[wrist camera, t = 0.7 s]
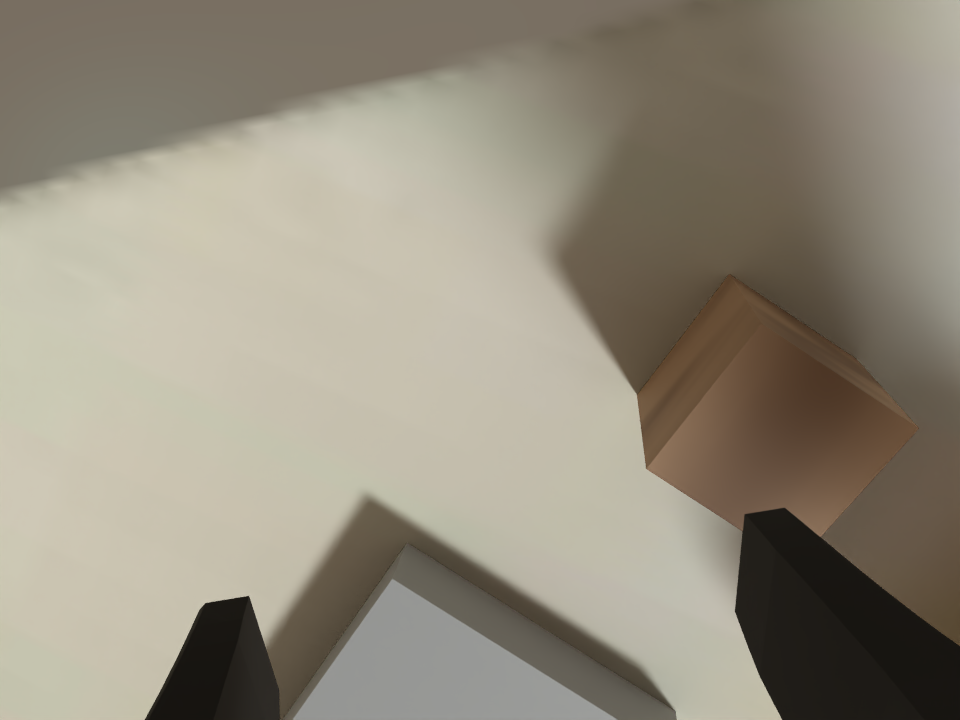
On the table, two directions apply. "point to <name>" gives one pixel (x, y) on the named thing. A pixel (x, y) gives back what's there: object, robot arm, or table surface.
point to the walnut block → (766, 415)
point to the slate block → (459, 660)
